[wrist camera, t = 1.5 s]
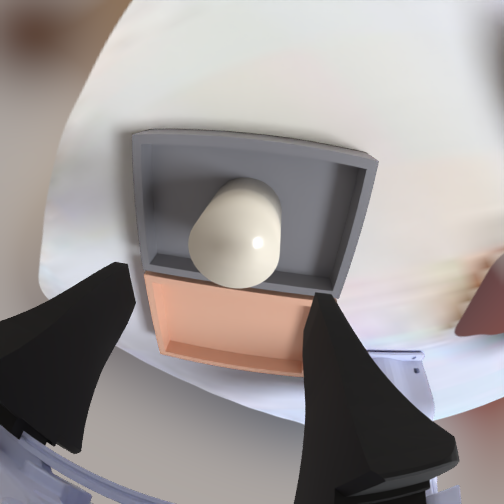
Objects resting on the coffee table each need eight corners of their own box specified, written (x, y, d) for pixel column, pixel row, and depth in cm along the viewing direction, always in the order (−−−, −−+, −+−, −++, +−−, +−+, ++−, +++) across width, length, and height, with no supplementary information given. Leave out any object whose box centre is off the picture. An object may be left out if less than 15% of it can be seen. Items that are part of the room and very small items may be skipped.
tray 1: (366, 152, 15) (378, 161, 13) (334, 277, 20) (338, 298, 18) (150, 129, 16) (132, 134, 14) (156, 252, 21) (143, 269, 19)
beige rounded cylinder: (286, 182, 16) (286, 215, 12) (276, 245, 18) (272, 294, 14) (214, 173, 16) (187, 203, 12) (211, 237, 18) (189, 281, 14)
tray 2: (332, 281, 20) (336, 303, 18) (305, 357, 25) (306, 377, 23) (156, 256, 21) (143, 274, 19) (168, 335, 26) (160, 353, 24)
